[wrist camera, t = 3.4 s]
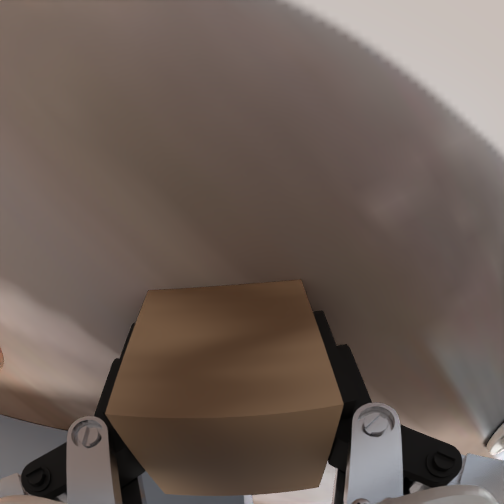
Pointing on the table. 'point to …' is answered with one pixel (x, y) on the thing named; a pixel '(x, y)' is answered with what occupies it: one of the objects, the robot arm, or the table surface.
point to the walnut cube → (227, 391)
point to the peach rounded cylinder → (1, 359)
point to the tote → (46, 439)
